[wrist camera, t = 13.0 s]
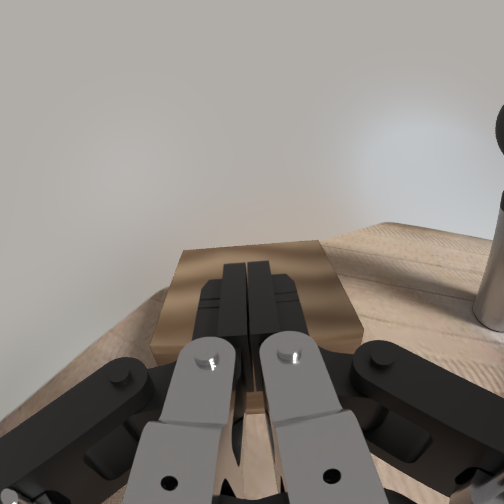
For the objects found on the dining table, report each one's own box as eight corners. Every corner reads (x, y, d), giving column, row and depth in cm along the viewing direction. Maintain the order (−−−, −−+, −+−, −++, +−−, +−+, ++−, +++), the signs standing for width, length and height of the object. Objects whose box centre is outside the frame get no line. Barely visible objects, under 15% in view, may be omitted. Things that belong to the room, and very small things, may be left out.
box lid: (362, 337, 24) (364, 329, 23) (152, 353, 24) (149, 345, 23) (317, 246, 40) (318, 240, 39) (184, 257, 40) (183, 250, 39)
